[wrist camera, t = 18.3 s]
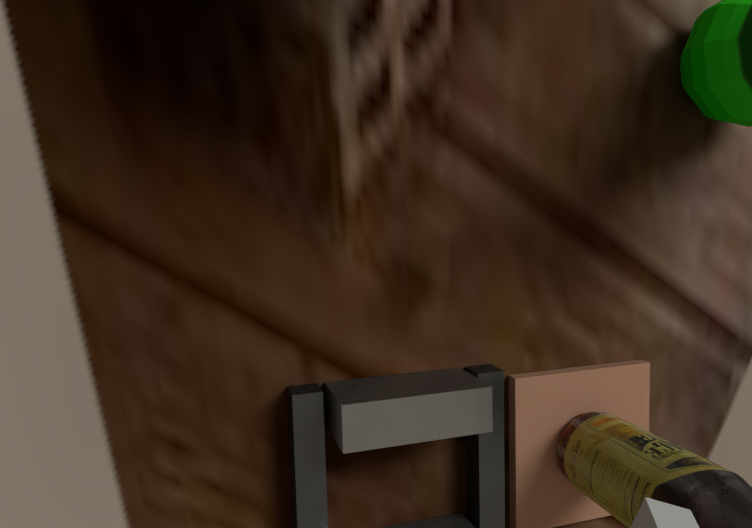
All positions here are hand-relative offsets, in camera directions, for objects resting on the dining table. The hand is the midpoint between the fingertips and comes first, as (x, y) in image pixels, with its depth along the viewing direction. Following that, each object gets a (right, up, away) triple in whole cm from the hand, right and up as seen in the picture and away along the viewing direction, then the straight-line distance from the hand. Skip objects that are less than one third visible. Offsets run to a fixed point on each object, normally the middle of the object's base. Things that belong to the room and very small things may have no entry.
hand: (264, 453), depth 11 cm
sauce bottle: (+18, -11, +34) cm, 40 cm away
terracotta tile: (+18, -11, +35) cm, 41 cm away
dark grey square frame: (+4, -15, +31) cm, 35 cm away
